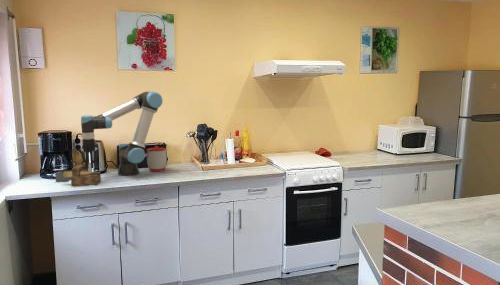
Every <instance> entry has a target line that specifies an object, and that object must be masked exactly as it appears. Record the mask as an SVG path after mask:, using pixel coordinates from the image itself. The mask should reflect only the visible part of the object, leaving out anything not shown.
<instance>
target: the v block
mask: <svg viewBox="0 0 500 285" xmlns="http://www.w3.org/2000/svg"><path fill="white" fill-rule="evenodd" d="M68 171H72V169H71V170H60V169H59V170H58V172H54V174H55V182H56V183H66V182H71V177H67V178H64V177H63V173H64V172H68Z"/></svg>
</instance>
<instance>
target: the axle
mask: <svg viewBox="0 0 500 285" xmlns="http://www.w3.org/2000/svg"><path fill="white" fill-rule="evenodd" d="M80 175H90V173H89V170H83V171H80ZM71 176H72V170H71V171H68V172H64V173H63V177H64V178H67V177H71Z"/></svg>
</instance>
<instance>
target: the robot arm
mask: <svg viewBox="0 0 500 285" xmlns="http://www.w3.org/2000/svg"><path fill="white" fill-rule="evenodd" d="M162 105H163V97H162V95H161V94H160V93H159V92H157V91H144V92H142V93H140V94H138V95H136V96H134V97H132V99H131V100H128V101H126V102H124V103H122V104H119V105H118V106H116V107H114V108H112V109H109V110H108V111H105V112H103V113H101V114H98V115H90V114H89V115H81V117H80V124H81V138H82V147H81V148H79V149H78V152H79V153H80V155H81V159H82V161H83V163H84V164H85V165H86V168H87V169H88V171H89V173H92V172H93V169H94V164H95V163H96V162H97V158H98V155H99V154H98V153H99V151H100V148H98V147H97V146H96V144H95V142H96V141H95V130H104V129H105V130H106V129H111V128H113V121H115V120H117V119H119V118H121V117H122V116H125V115H127V114H129V113H131V112H134V111H135V110H140V109H141V113H140V116H139V119H138V123H137V126H136V129H135V131H134V135H133V138H132V140H131V141H130V142H129V143H122V144H121V143H120V144H119V145H118V151H119V153H118V154H119V166H118V170H117V175H119V176H123V177H124V176H136V175H138V174H139V173H140V170H139V168H138V165H137V164H140V163H142V162H143V161H144V159H145V154H146V152H145V150H146V146H145V142H146V139H147V136H148V133H149V130H150V128H151V124H152V122H153V121H152V120H153V118H154V115H155V114H156V113H157V112H158V109H159V108H160V107H161V106H162ZM94 151H95V152H94ZM84 152H85V153H84ZM93 153H94V154H93Z"/></svg>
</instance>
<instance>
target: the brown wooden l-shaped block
mask: <svg viewBox="0 0 500 285" xmlns="http://www.w3.org/2000/svg"><path fill="white" fill-rule="evenodd" d="M75 165H76V164H75ZM75 165H74V166H75ZM74 166H73V167H74ZM73 167H71V168H72V169H71V171H72V176H71V180H70V185H71V187H72V186H73V187H90V186H89V185H95V186H98V185H99V184H100V183H101V180H102V178H101V171H92V173H90V175H80V171H84V165H83V164H77V165H76V166H75V167H74V168H73ZM99 182H100V183H99Z"/></svg>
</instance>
